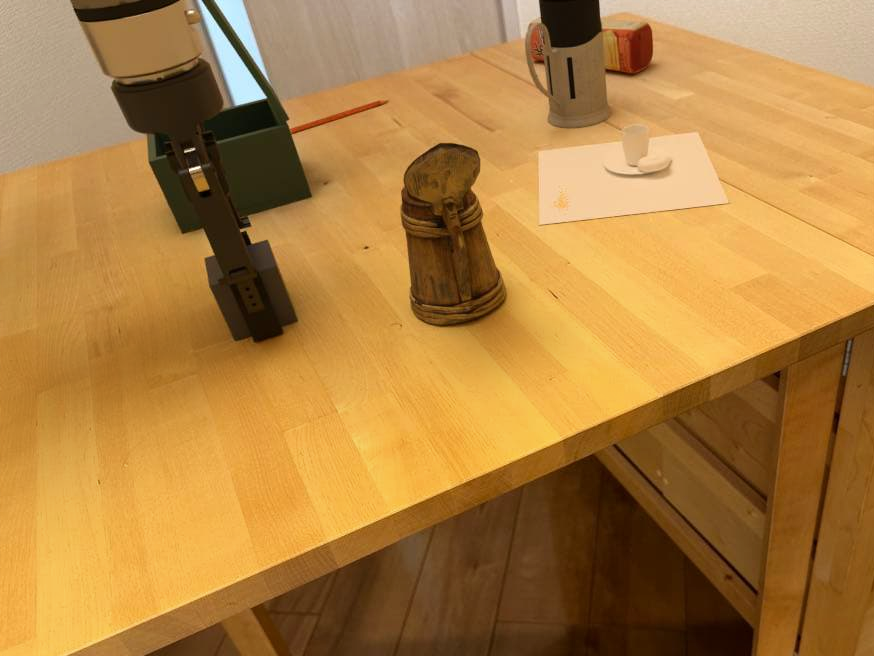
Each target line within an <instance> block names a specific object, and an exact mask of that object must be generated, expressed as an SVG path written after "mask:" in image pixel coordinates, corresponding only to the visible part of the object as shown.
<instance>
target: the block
mask: <svg viewBox="0 0 874 656" xmlns="http://www.w3.org/2000/svg"><path fill="white" fill-rule="evenodd" d="M246 247H247V249H248V252H249V254H250V257H251V259H252V262H253V264H254V265H256V268H257V269H258V271H259V274H260V276H261V278H262V281H263V283H264V286H265V288H266V291H267V293H268V295H269V298H270V300H271V303H272V305H273V308H274V310H275V312H276V315H277V317H278V320H279V322H280V324H281V327H283V326H286V325H289V324H292V323H296V322H298V321H299V319H298V316H297V312H296V310H295V308H294V304H293V302H292V299H291V295H290V292H289V290H288V288H287V285H286V282H285V279H284V278H283V274H282V272H281V270H280V267H279V265H278V262H277V259H276V257H275V254H274V252H273V248H272V247H271V244H270V241H269V239H264V240H261V241H258V242H254V243H251V244H250V245H247V246H246ZM204 263H205V270H206V276H207V281H208V287H209V289H210V291H211V292H212V295H213V297H214V300H215V302H216V304H217V306H218V308H219V310H220V312H221V315H222V316H223V319H224V321H225V323H226V325H227V328H228V329H229V332H230V334H231V336H232V338H233V341H234V342H237V341H239V340H243V339H245V338H249V337H252V336H251V333H250V331H249V329H248V327H247V324H246V322H245V320H244V318H243V315H242V313H241V311H240V309H239V306H238V304H237V302H236V300H235V298H234V295H233V293H232V291H231V289H230V286H228V285H227V284H224V285H221V286H220V285H219V283H218V281H217V279H218V278H221V277H223V273H222V271H221V268H220V266H219V264H218V262H217V259H216V257H215V255H214V254H213V255H210V256H207V257H204Z"/></svg>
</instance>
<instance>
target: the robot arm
mask: <svg viewBox="0 0 874 656" xmlns="http://www.w3.org/2000/svg"><path fill="white" fill-rule="evenodd" d="M69 1H70V3H71V5H72V8H73V12H74V14H75V15H76V18H77V22H78V24H79V26H80V28H81V31H82V32H83V35H84V37H85V39H86V40H87V43H88V45H89V47H90V49H91V51H92V53H93V56H94V58H95V60H96V62H97V64H98V66H99V68H100V71H101V72H102V74H103V75H105V76H107V77H109V78H110V79H112V83H111V86H110V89H111V92H112V95H113V97H114V98H115V100H116V103H117V104H118V107H119V109H120V111H121V113H122V116H123V118H124V120H125V121H126V123H127V124H126V125H127V126H128V127H129V128H130V129H131V130H132V131H134V132H136V133H138V134H143V135H147V134H155V133H163V134H166V135H168V136H169V139H170V141H169V142H165V143H164V145H165V147H166V150H167V152H165V153H166V156H167V159H168V161H169V164H170V166H171V169H172V170H173V171H174V172H175V173H177V175H178V177H179V180H180V182H181V185H182V187H183V189H184V192H185V194H186V197H187V199H188V201H189V202H191V203H192V204H193V206H194V208H195V211H196V213H197V215H198V217H199V220H200V222H201V224H202V227H203V228H202V229H203V231H204V233H205V236H206V239H207V241H208V242H209V246H210V247H211V250H212V252H213V255H215V257H216V259H217V262H218V264H219V266H220V268H221V271H222V273H223V277H221V278H218V279H217V281H218V283H219V285H220V286H221V285H224V284H227V285H228V286H230V289H231V291H232V293H233V295H234V298H235V300H236V302H237V304H238V306H239V309H240V311H241V313H242V315H243V318H244V320H245V322H246V324H247V327H248V329H249V331H250V333H251V336H250V337H251V338H252V340H253V342H254V343H255V342H258V341H260V340H263V339H268V338H270V337H273V336H277V335H279V334H283V333H284V329H283V326H281V324H280V322H279V320H278V317H277V315H276V312H275V310H274V308H273V305H272V303H271V300H270V298H269V295H268V293H267V291H266V288H265V286H264V283H263V281H262V278H261V276H260V274H259V271H258V269H257V268H256V265H254V264H253V262H252V259H251V257H250V254H249V252H248V249H247V247H246V246H247V245H250V244H252V241H251V239H250V236H249V234H248V232H247V230H244V229H248V228H252V224H251V221H250V218H249V215H245V216H242V217H239V214H238V213H239V209H238V207H236V206H235V203H234V201H233V199H232V196H231V194H230V191H231V190H230V187H229V184H228V181H227V179H226V176H225V175H226V172H225V169H224V167H223V164H222V161H221V160H222V159H221V155H220V152H219V148H218V145H217V142H216V140H215V137H214V135H213V132H212V131H208V132H205V131H204V129H203V126H204V125H203V122H202V121H204V120H209V119H211V118H213V117H214V116H216V115H217V114H218V113H219V112H220V111H221V110H222V108H224V104H225V102H224V98H223V96H222V92H221V91H220V87H219V85H218V83H217V79H216V77H215V75H214V72H213V69H212V66H211V64H210V63H209V62H208V61H207V60H205V59H204V58H203V57H202V58H203V59H202V58H198V57H199V56H200V55H201V56H202V53H203V50H204V48H203V45H202V42H201V40H200V38H199V35H198V33H197V29H196V28H195V27H194V26H193V25H195V24H199V23H200V22H201V19H202V18H201V15H200V13H199V12H198V10H197V9H196V8H190V9H186V1H185V0H69ZM241 230H244V231H241Z"/></svg>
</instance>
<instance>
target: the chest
mask: <svg viewBox="0 0 874 656" xmlns="http://www.w3.org/2000/svg"><path fill="white" fill-rule="evenodd" d="M202 122H203V125H204V126H203V129H204V131H205V132H208V131H212V132H213V135H214V137H215V140H216V142H217V145H218V148H219V152H220V155H221V159H222V160H221V161H222V164H223V167H224V169H225V172H226V175H225V176H226V179H227V181H228V184H229V187H230V190H231V191H230V194H231V196H232V199H233V201H234V203H235V206H236V207H238V209H239V213H238V214H239V217H240V218H242V217H245V216H249V215H252V214H256V213H259V212H263V211H266V210H269V209H273V208H277V207H281V206H283V205H287V204H291V203H294V202H298V201H301V200H305V199H308V198H311V197H313V195H312V191H311V188H310V186H309V183H308V180H307V177H306V174H305V171H304V168H303V165H302V162H301V159H300V156H299V153H298V150H297V147H296V144H295V141H294V138H293V134H291V132H290V129H291V128H290V126H289V123H288V121H286V122H283V121H282V119H281V118H280V116H279V115H278V113H277V112H276V110H275V109H274V107H273V106H272V104H271V103H270V101H269V100H268V98H267V97H265V98H261V99H257V100H254V101H248V102H246V103H241V104H237V105H234V106H229V107H225V108H224V109H222V110H221V111H220V112H219V113H218V114H217V115H216V116H214V117H213V118H211V119H209V120H204V121H202ZM169 141H170V139H169V136H168V135H166V134H163V133H155V134H146V144H147V160H148V164H149V166H150V168H151V171H152V173H153V175H154V177H155V179H156V181H157V183H158V186H159V188H160V189H161V192H162V194H163V196H164V198H165V200H166V202H167V204H168V207H169V209H170V211H171V214H172V215H173V217H174V220H175V222H176V223H177V226H178V229H179V230H180V232H181V234H186V233H189V232H192V231H193V232H194V231H196V230H200V229H203V227H202V224H201V222H200V220H199V217H198V215H197V213H196V211H195V208H194V206H193V204H192V203H191V202H189V201H188V199H187V197H186V194H185V192H184V189H183V187H182V185H181V182H180V180H179V177H178V175H177V173H175V172H174V171H173V170H172V169H171V166H170V164H169V161H168V159H167V156H166V153H165V152H167V150H166V147H165V145H164V143H165V142H169Z"/></svg>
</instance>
